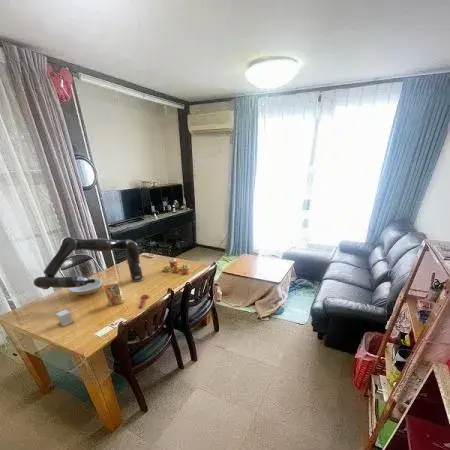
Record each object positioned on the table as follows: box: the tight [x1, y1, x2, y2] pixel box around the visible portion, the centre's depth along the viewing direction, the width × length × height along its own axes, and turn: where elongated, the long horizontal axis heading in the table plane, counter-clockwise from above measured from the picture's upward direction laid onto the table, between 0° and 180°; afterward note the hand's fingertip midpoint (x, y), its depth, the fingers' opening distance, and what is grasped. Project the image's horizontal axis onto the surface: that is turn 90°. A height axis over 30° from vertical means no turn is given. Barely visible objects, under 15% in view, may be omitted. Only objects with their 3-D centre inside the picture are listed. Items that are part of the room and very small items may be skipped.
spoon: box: [138, 294, 149, 309], centre depth 181 cm, size 17×5×1 cm, turn 4°
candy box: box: [103, 281, 124, 306], centre depth 176 cm, size 9×4×15 cm, turn 116°
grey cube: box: [55, 309, 74, 327], centre depth 158 cm, size 6×6×7 cm
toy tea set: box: [162, 257, 190, 275], centre depth 229 cm, size 26×16×10 cm, turn 68°
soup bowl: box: [67, 277, 104, 296], centre depth 194 cm, size 24×24×7 cm
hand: (94, 280), depth 171 cm, fingers closed
